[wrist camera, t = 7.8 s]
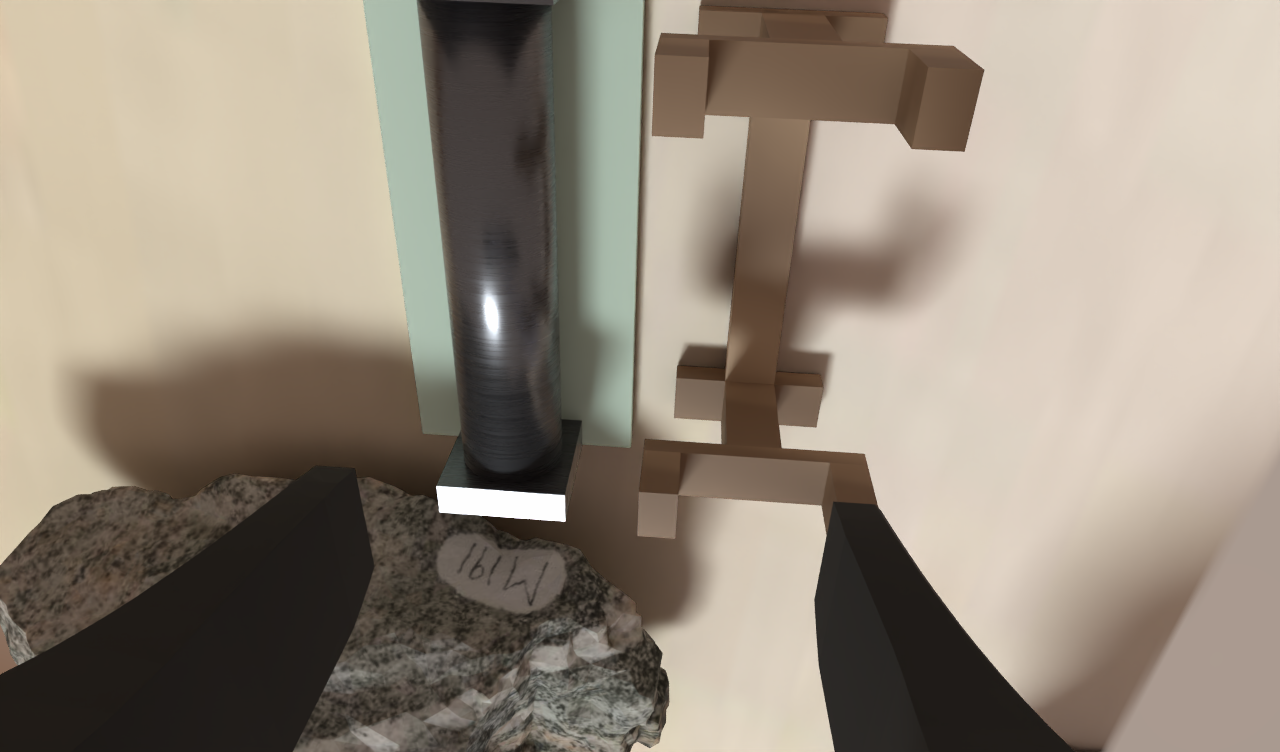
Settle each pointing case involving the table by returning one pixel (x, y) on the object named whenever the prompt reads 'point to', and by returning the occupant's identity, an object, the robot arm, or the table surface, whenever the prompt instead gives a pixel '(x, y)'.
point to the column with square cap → (499, 254)
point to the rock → (383, 620)
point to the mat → (585, 197)
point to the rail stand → (781, 229)
